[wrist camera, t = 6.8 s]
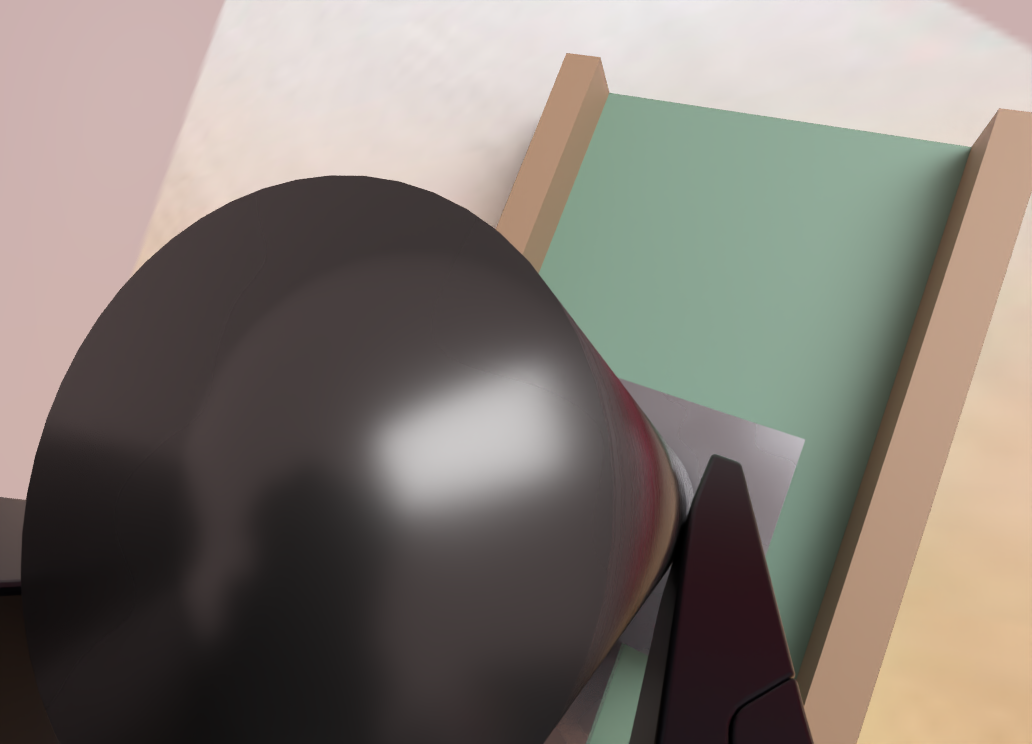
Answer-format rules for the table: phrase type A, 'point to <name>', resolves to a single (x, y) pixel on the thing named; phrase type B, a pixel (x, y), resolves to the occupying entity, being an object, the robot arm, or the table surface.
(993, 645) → the table surface
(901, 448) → the pitch
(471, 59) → the table surface
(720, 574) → the robot arm
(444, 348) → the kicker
